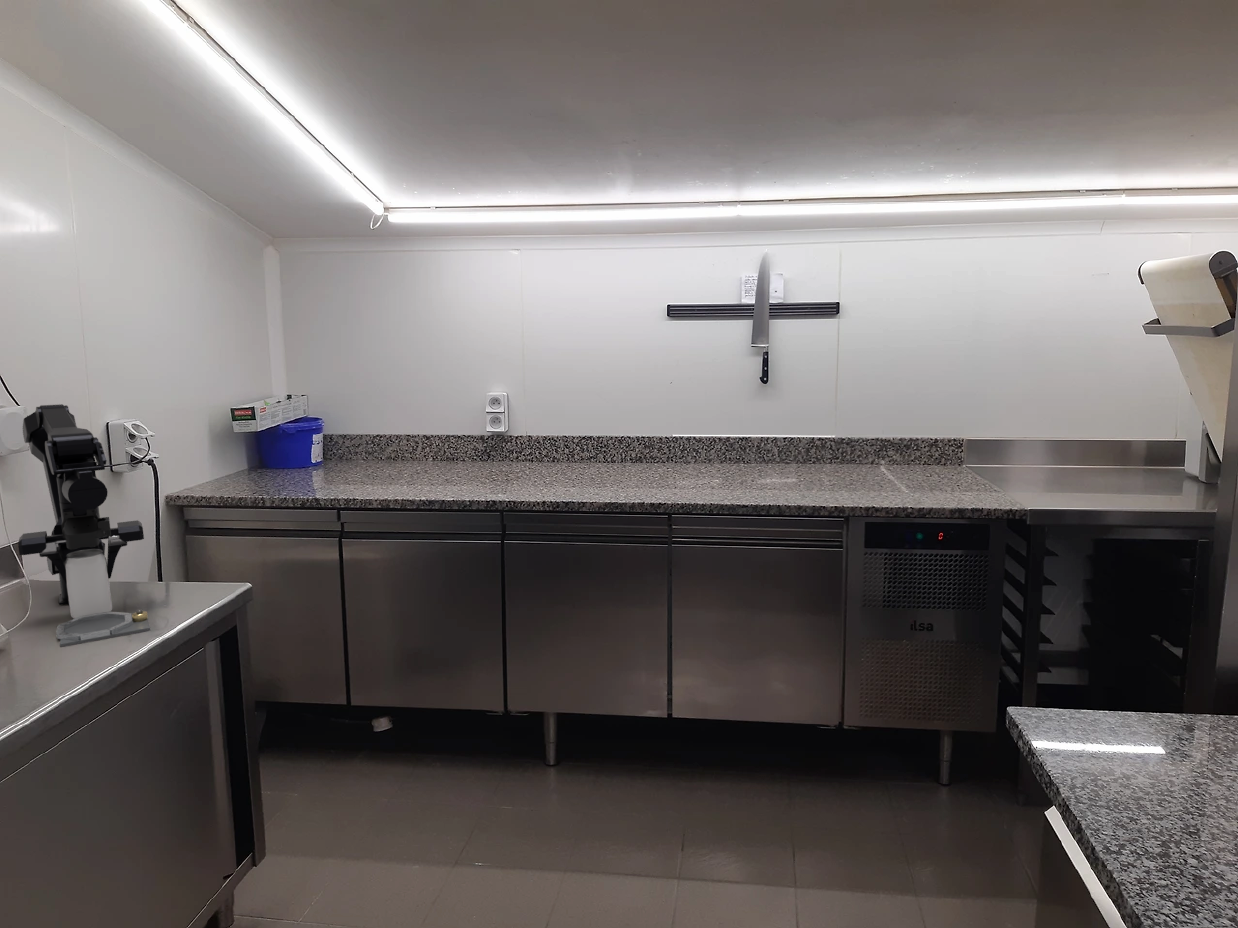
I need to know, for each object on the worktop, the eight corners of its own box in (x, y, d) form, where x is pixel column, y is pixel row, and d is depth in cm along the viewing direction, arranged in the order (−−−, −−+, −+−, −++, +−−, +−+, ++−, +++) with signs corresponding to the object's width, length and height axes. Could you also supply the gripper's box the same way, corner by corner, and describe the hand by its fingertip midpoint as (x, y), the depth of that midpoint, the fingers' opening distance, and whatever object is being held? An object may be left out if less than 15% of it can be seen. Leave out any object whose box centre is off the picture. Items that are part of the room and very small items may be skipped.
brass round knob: (132, 618, 138) (131, 609, 137) (147, 616, 139) (146, 607, 139) (132, 622, 136) (131, 613, 135) (148, 620, 137) (147, 610, 137)
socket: (58, 624, 135) (57, 620, 135) (130, 611, 141) (130, 607, 141) (56, 644, 126) (55, 640, 126) (133, 630, 132) (132, 626, 132)
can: (91, 621, 137) (83, 559, 135) (62, 619, 139) (54, 557, 137) (121, 609, 144) (113, 549, 142) (92, 606, 145) (85, 547, 143)
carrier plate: (61, 628, 134) (61, 625, 134) (146, 613, 142) (146, 610, 142) (60, 647, 126) (59, 644, 126) (150, 630, 134) (149, 627, 134)
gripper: (10, 515, 126) (22, 603, 128) (141, 502, 136) (150, 583, 139) (15, 503, 135) (27, 585, 137) (137, 491, 145) (146, 568, 148)
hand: (88, 581), depth 140 cm, fingers closed on can, 6 cm apart
